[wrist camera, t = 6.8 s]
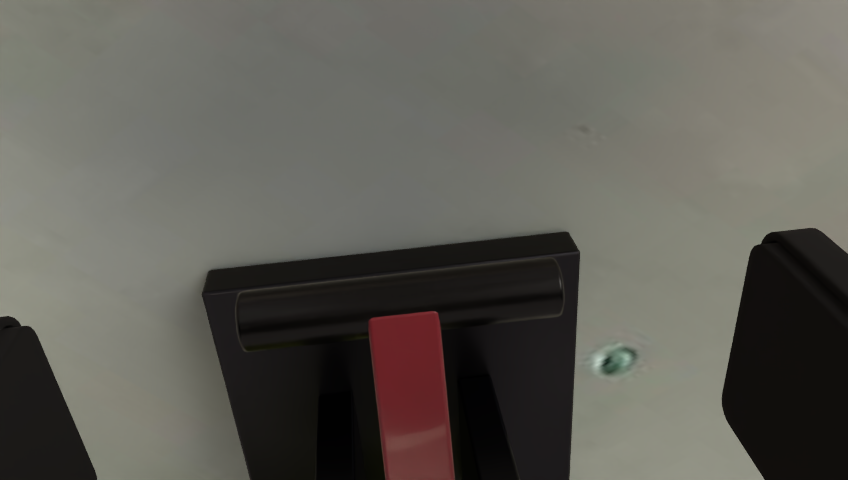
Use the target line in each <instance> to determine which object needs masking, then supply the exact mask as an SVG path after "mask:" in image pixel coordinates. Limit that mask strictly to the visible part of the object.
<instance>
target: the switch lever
mask: <svg viewBox="0 0 848 480" xmlns="http://www.w3.org/2000/svg"><path fill="white" fill-rule="evenodd" d="M564 302H565V294H564V284H563V278H562V274H561V270H560V268H559V265H558V263H557V261H556V260H555V259H554V258H552V257H545V258H536V259H526V260H517V261H508V262H499V263H490V264H481V265H472V266H463V267H454V268H445V269H436V270H427V271H418V272H408V273H399V274H390V275H381V276H372V277H363V278H354V279H345V280H336V281H327V282H318V283H309V284H300V285H290V286H281V287H272V288H263V289H254V290H245V291H242V292H240V293H239V294H238V296H237V300H236V307H235V318H236V329H237V335H238V339H239V342H240V345H241V347H242V349H243V350H244V351H245V352H258V351H266V350H275V349H284V348H292V347H301V346H310V345H318V344H327V343H336V342H345V341H353V340H362V339H369V342H370V350H371V359H372V368H373V377H374V385H375V394H376V403H377V411H378V420H379V429H380V438H381V446H382V455H383V464H384V472H385V480H455V474H454V463H453V453H452V442H451V432H450V421H449V411H448V400H447V389H446V379H445V368H444V358H443V347H442V337H441V330H449V329H458V328H466V327H475V326H484V325H492V324H501V323H510V322H518V321H527V320H536V319H545V318H553V317H558V316H560V315H561V314H562V313H563V309H564Z"/></svg>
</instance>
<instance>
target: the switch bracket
mask: <svg viewBox="0 0 848 480" xmlns="http://www.w3.org/2000/svg"><path fill="white" fill-rule="evenodd" d="M545 257H552V258H554V259H555V260H556V261H557V263H558V265H559V268H560V270H561V274H562V278H563V284H564V294H565V302H564V309H563V313H562V314H561V315H560V316H558V317H553V318H545V319H536V320H527V321H518V322H510V323H501V324H492V325H484V326H475V327H466V328H458V329H449V330H441V337H442V347H443V358H444V368H445V379H446V389H447V400H448V411H449V421H450V432H451V442H452V453H453V463H454V474H455V480H569V476H570V455H571V434H572V412H573V391H574V370H575V349H576V327H577V306H578V285H579V264H580V251H579V250H578V248H577V246H576V244H575V243H574V241H573V239H572V238H571V236H570V234H569V233H568V232H559V233H550V234H541V235H531V236H522V237H513V238H504V239H494V240H485V241H476V242H467V243H457V244H448V245H439V246H430V247H420V248H411V249H402V250H393V251H384V252H374V253H365V254H356V255H347V256H337V257H328V258H319V259H310V260H300V261H291V262H282V263H273V264H264V265H254V266H245V267H236V268H227V269H217V270H211V271H209V272H208V275H207V278H206V282H205V285H204V288H203V291H202V297H203V301H204V305H205V309H206V312H207V316H208V320H209V324H210V328H211V331H212V335H213V339H214V343H215V347H216V351H217V354H218V358H219V362H220V366H221V370H222V374H223V377H224V381H225V385H226V389H227V393H228V396H229V400H230V404H231V408H232V412H233V416H234V419H235V423H236V427H237V431H238V435H239V438H240V442H241V446H242V450H243V454H244V458H245V461H246V465H247V469H248V473H249V477H250V480H385V472H384V464H383V455H382V446H381V438H380V429H379V420H378V411H377V403H376V394H375V385H374V377H373V368H372V359H371V350H370V342H369V339H362V340H353V341H345V342H336V343H327V344H318V345H310V346H301V347H292V348H284V349H275V350H266V351H258V352H245V351H244V350H243V349H242V347H241V345H240V342H239V339H238V335H237V329H236V318H235V307H236V300H237V296H238V294H239V293H240V292H242V291H245V290H254V289H263V288H272V287H281V286H290V285H300V284H309V283H318V282H327V281H336V280H345V279H354V278H363V277H372V276H381V275H390V274H399V273H408V272H418V271H427V270H436V269H445V268H454V267H463V266H472V265H481V264H490V263H499V262H508V261H517V260H526V259H536V258H545Z"/></svg>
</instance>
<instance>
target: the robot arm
mask: <svg viewBox="0 0 848 480" xmlns="http://www.w3.org/2000/svg"><path fill="white" fill-rule="evenodd" d="M722 407H723V411H724V415H725V417H726V420H727V422H728V423H729V425H730V427H731V428H732V430H733V431H734V433H735V434H736V436H737V437H738V439H739V441H740V442H741V444H742V445H743V447H744V448H745V450H746V451H747V453H748V454H749V456H750V458H751V459H752V461H753V462H754V464H755V465H756V467H757V468H758V470H759V471H760V473H761V474H762V476H763V478H764V479H765V480H848V254H847V253H846V252H845V251H844V250H843V249H841V248H840V247H839V246H838V245H837V244H835V243H834V242H833V241H832V240H831V239H830V238H828V237H827V236H826V235H825V234H824V233H822V232H821V231H819V230H818V229H816V228H806V229H797V230H788V231H779V232H771V233H769V234H767V235H766V236H765V237H764V239H763V240H762V243H761V244H760V245H756V246H754V247H753V249H752V250H751V253H750V256H749V261H748V266H747V271H746V276H745V281H744V286H743V292H742V297H741V302H740V307H739V312H738V317H737V322H736V327H735V332H734V337H733V342H732V347H731V352H730V358H729V363H728V368H727V373H726V378H725V383H724V388H723V393H722ZM0 480H97V476H96V473H95V470H94V467H93V465H92V463H91V460H90V458H89V456H88V453H87V451H86V449H85V446H84V444H83V442H82V439H81V437H80V435H79V432H78V430H77V428H76V425H75V423H74V421H73V418H72V416H71V414H70V411H69V409H68V407H67V404H66V402H65V400H64V397H63V395H62V393H61V390H60V388H59V386H58V383H57V381H56V379H55V376H54V374H53V372H52V369H51V367H50V365H49V362H48V360H47V358H46V355H45V353H44V350H43V348H42V346H41V343H40V341H39V339H38V336H37V335H36V333H35V331H34V330H33V329H32V328H31V327H29V326H21V325H20V323H19V322H18V321H17V320H16V319H15V318H13V317H9V316H7V317H0Z"/></svg>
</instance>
